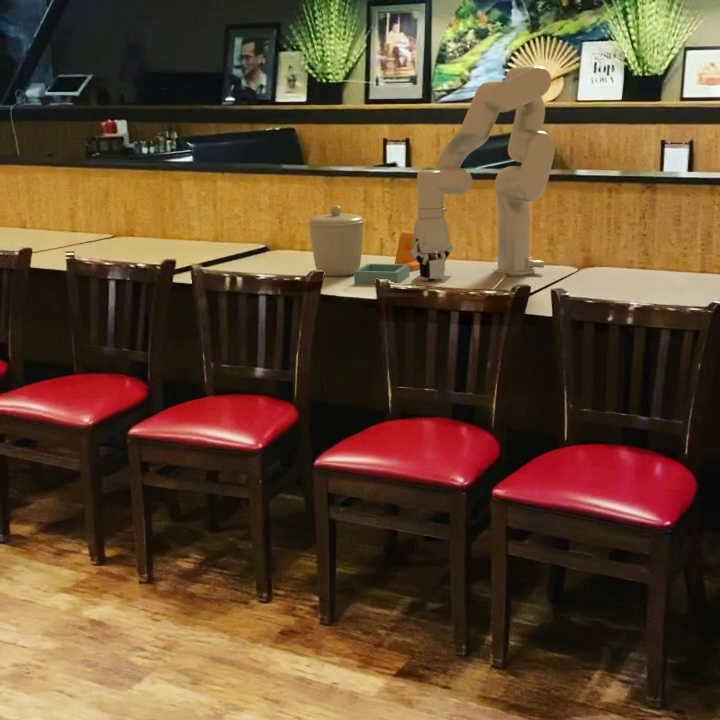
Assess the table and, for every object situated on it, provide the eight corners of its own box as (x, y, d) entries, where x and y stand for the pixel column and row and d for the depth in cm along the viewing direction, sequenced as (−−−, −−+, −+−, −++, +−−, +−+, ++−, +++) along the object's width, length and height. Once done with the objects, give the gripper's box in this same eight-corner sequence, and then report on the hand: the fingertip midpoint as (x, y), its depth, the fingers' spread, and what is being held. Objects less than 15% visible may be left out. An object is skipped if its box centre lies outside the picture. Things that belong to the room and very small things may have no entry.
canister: (379, 273, 324) (377, 204, 318) (332, 281, 313) (330, 211, 307) (343, 266, 337) (340, 200, 332) (297, 274, 327) (294, 206, 321)
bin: (409, 279, 312) (409, 264, 311) (397, 288, 300) (397, 272, 299) (367, 278, 316) (367, 263, 315) (354, 286, 304) (354, 271, 303)
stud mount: (452, 279, 310) (452, 262, 309) (444, 285, 301) (444, 268, 300) (419, 278, 313) (419, 261, 312) (410, 284, 304) (410, 267, 303)
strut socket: (434, 274, 310) (434, 247, 308) (444, 276, 306) (443, 249, 304) (420, 276, 308) (419, 249, 306) (430, 279, 304) (429, 251, 302)
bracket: (414, 274, 321) (413, 235, 317) (394, 272, 325) (393, 233, 322) (433, 268, 329) (433, 230, 326) (414, 266, 333) (414, 229, 330)
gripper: (447, 209, 309) (448, 270, 314) (399, 215, 301) (400, 277, 306) (462, 211, 303) (463, 273, 308) (413, 218, 295) (415, 281, 300)
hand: (432, 275), depth 307 cm, fingers closed on strut socket, 5 cm apart
